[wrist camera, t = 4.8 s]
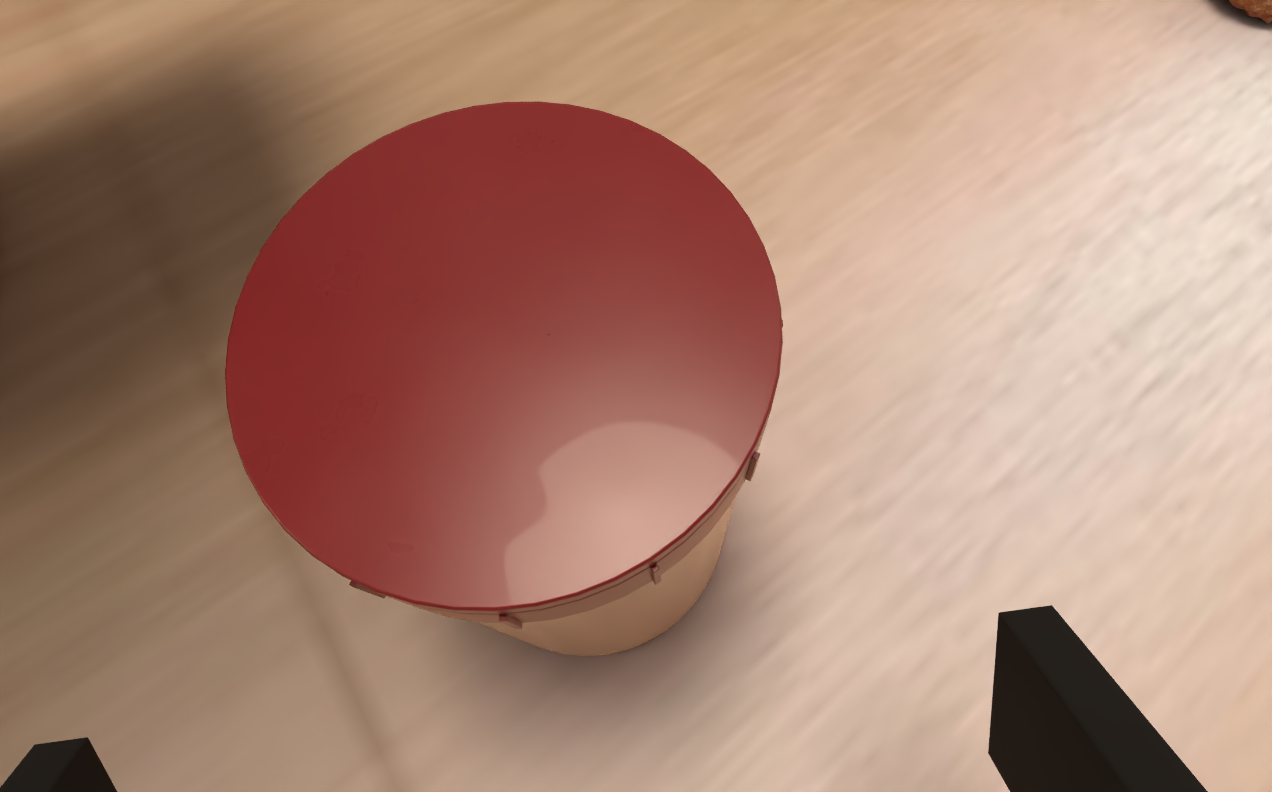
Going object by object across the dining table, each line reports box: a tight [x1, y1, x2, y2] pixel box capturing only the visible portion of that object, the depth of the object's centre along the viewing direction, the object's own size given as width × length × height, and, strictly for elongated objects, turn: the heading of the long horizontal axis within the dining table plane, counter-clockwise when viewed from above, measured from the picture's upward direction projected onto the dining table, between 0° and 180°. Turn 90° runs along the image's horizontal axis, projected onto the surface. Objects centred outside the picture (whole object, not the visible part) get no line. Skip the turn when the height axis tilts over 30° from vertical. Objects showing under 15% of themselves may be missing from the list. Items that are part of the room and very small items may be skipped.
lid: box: [225, 102, 783, 629], centre depth 13 cm, size 8×8×2 cm
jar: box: [479, 497, 736, 656], centre depth 18 cm, size 8×8×12 cm
